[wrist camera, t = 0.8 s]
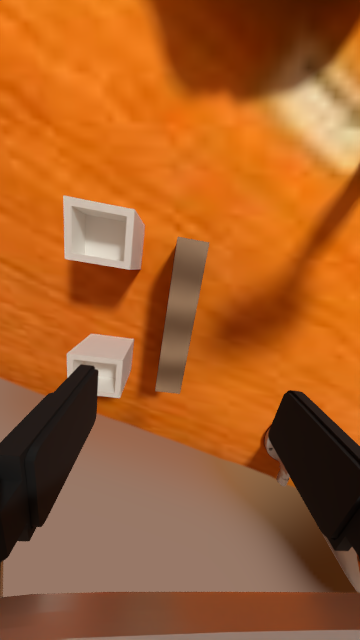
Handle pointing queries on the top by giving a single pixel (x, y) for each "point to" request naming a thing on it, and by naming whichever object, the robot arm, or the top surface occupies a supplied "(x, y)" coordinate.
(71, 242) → the twin hollow square sockets
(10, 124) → the top surface
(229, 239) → the top surface
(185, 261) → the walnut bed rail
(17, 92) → the top surface
